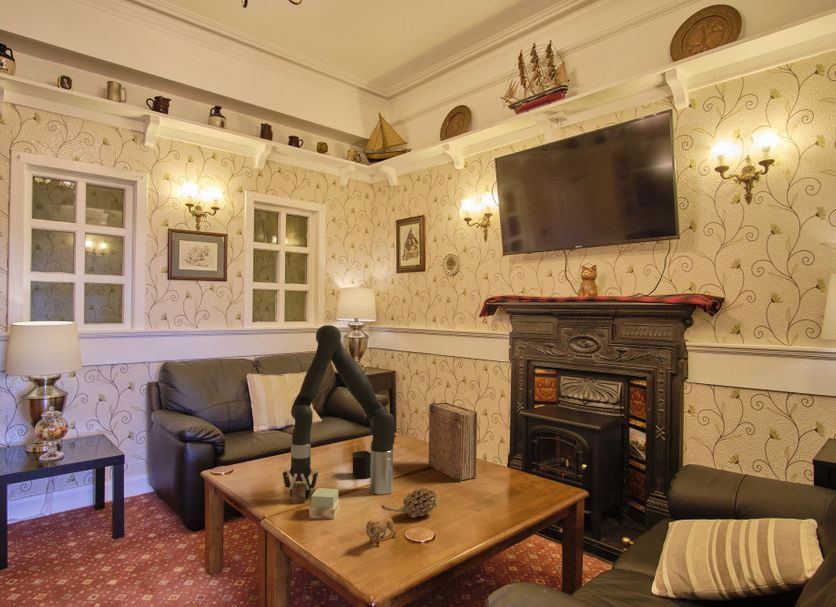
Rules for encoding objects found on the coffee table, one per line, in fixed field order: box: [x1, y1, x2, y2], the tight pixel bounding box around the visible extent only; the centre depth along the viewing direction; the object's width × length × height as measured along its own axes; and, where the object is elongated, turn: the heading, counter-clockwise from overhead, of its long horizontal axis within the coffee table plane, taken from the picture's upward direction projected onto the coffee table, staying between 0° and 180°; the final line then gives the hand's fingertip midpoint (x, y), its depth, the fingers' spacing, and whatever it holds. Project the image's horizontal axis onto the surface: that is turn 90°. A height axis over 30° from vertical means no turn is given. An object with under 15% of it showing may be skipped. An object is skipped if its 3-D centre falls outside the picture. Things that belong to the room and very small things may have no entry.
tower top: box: [310, 487, 339, 508], centre depth 184 cm, size 8×8×4 cm
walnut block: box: [291, 482, 308, 504], centre depth 196 cm, size 5×5×6 cm
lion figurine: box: [365, 517, 397, 548], centre depth 163 cm, size 15×5×9 cm, turn 152°
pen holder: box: [351, 450, 371, 480], centre depth 226 cm, size 9×9×10 cm
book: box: [428, 402, 478, 483], centre depth 233 cm, size 25×9×30 cm, turn 32°
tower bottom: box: [308, 498, 341, 520], centre depth 184 cm, size 9×9×4 cm
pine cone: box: [380, 487, 439, 519], centre depth 182 cm, size 22×10×10 cm, turn 115°
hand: (300, 498), depth 196 cm, fingers closed on walnut block, 5 cm apart
